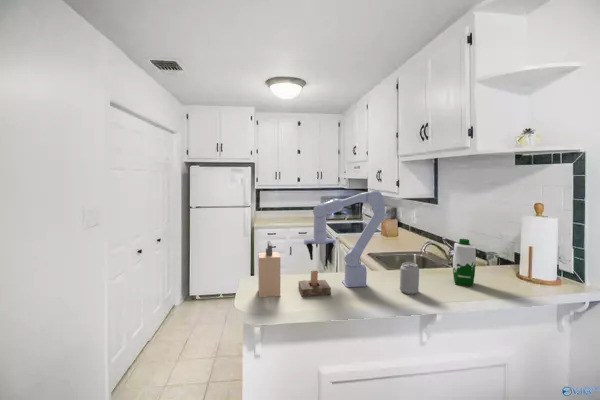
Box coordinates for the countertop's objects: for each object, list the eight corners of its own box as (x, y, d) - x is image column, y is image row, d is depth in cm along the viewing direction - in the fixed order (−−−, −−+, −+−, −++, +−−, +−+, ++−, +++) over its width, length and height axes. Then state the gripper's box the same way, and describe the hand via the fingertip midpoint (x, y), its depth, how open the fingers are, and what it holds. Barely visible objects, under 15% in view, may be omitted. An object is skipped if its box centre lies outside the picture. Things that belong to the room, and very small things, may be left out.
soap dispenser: (258, 289, 129) (258, 239, 127) (278, 288, 130) (278, 238, 129) (259, 301, 116) (259, 246, 115) (281, 300, 118) (281, 245, 116)
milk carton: (472, 281, 140) (474, 239, 139) (475, 288, 132) (477, 243, 130) (451, 279, 144) (453, 237, 142) (453, 285, 135) (455, 241, 134)
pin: (316, 288, 129) (316, 270, 128) (317, 291, 126) (318, 272, 125) (310, 288, 129) (310, 270, 128) (311, 291, 126) (311, 272, 125)
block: (325, 286, 133) (325, 279, 133) (330, 295, 123) (330, 288, 123) (298, 287, 131) (298, 281, 131) (302, 296, 121) (302, 289, 121)
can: (409, 296, 122) (410, 267, 121) (395, 290, 129) (396, 263, 128) (422, 293, 126) (423, 265, 125) (408, 287, 132) (409, 260, 132)
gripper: (333, 228, 143) (332, 256, 144) (303, 229, 141) (302, 257, 142) (337, 231, 136) (336, 260, 137) (305, 231, 134) (305, 261, 135)
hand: (319, 259), depth 139 cm, fingers open, 7 cm apart
